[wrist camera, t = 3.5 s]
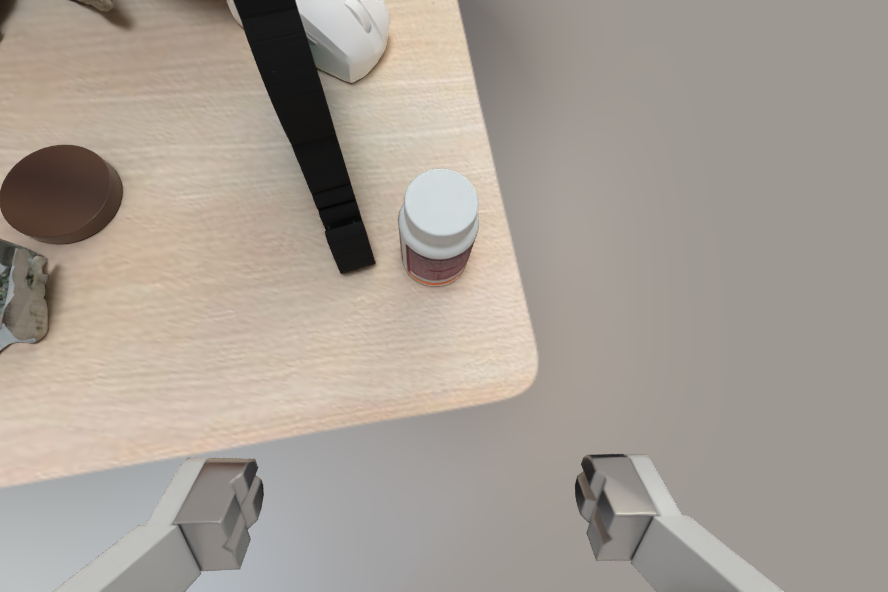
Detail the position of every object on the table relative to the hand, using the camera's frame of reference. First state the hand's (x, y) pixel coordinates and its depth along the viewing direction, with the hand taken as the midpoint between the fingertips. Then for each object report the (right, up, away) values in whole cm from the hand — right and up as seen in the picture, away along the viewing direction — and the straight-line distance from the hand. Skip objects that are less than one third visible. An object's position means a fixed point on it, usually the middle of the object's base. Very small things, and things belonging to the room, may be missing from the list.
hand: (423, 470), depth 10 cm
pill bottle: (0, +7, +20) cm, 21 cm away
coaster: (-26, +11, +19) cm, 34 cm away
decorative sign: (-9, +15, +21) cm, 27 cm away
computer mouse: (-10, +26, +24) cm, 37 cm away
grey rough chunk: (-27, +4, +17) cm, 32 cm away
